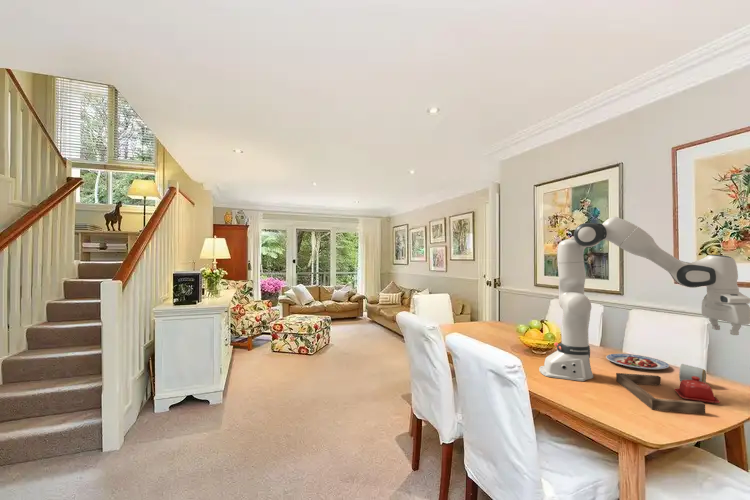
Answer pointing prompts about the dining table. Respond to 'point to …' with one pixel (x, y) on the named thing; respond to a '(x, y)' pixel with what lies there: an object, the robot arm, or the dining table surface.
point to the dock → (654, 403)
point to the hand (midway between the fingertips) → (725, 332)
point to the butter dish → (696, 391)
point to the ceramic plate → (637, 361)
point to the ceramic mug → (691, 373)
